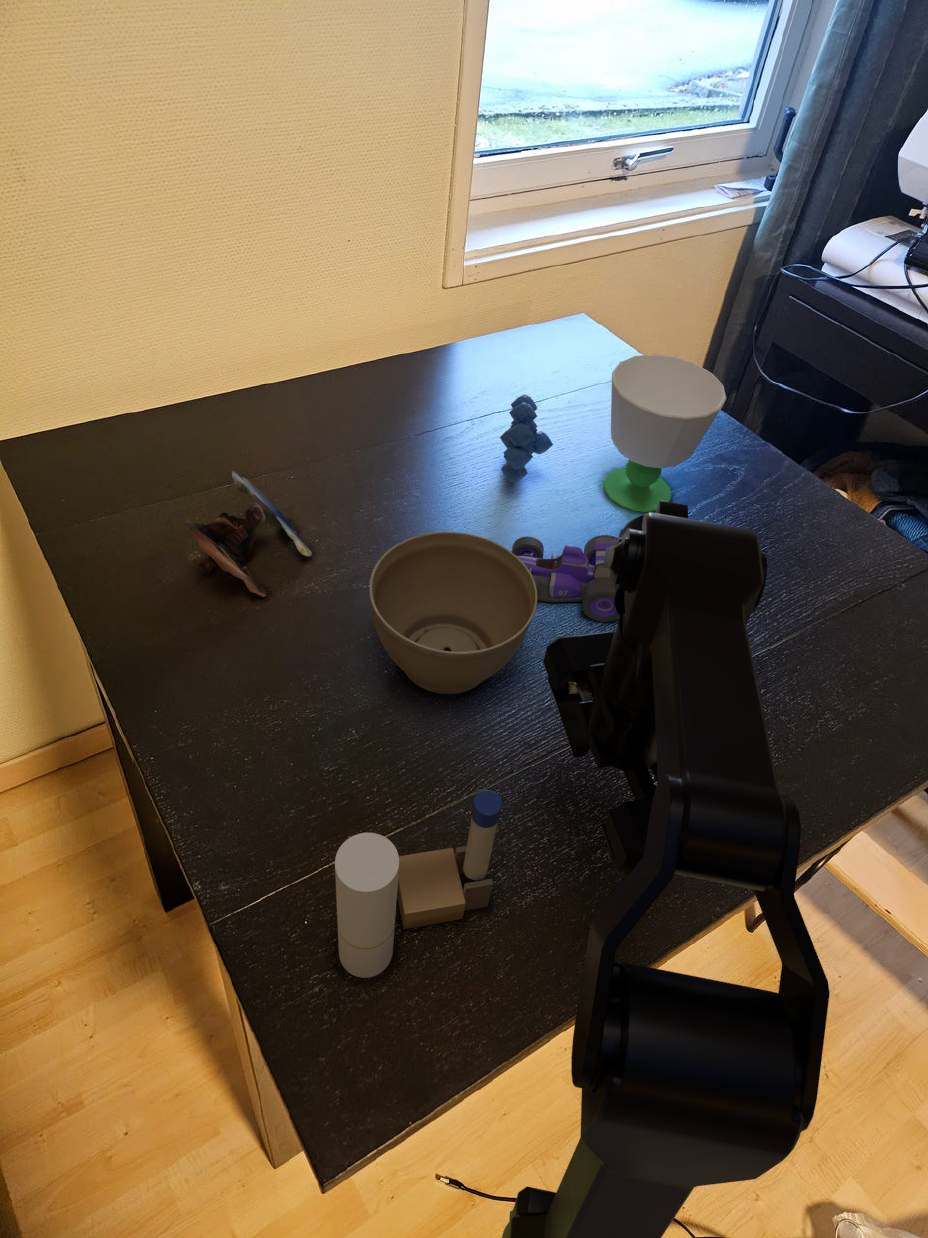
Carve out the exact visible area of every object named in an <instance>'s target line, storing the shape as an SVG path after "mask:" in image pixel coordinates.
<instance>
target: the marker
mask: <svg viewBox="0 0 928 1238" xmlns="http://www.w3.org/2000/svg"><path fill="white" fill-rule="evenodd" d="M471 807H472V808H471V814H470V815H471V819H470V824H469V830H468V836H467V842H466V846H467V848H466V854H465V860H464V866H463V871H464V874H463V875H465V876H466V878H468V879H469V880H471V881H481V880H483V879H484V878H485V877H486V876H487V873H488V870H489V865H490V861H491V856H492V851H493V846H494V842H495V839H496V838H495V837H496V832H497V828H498V822H499V821H500V817H501V813H502V807H503V801H502V798H501V796H500V795H499V794H498V793H496V792H495V791H493V790H490V789H489V790H488V789H485V790H482V791H479V792H478V793H476V794H475V796H474V797H473V801H472V806H471Z"/></svg>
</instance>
